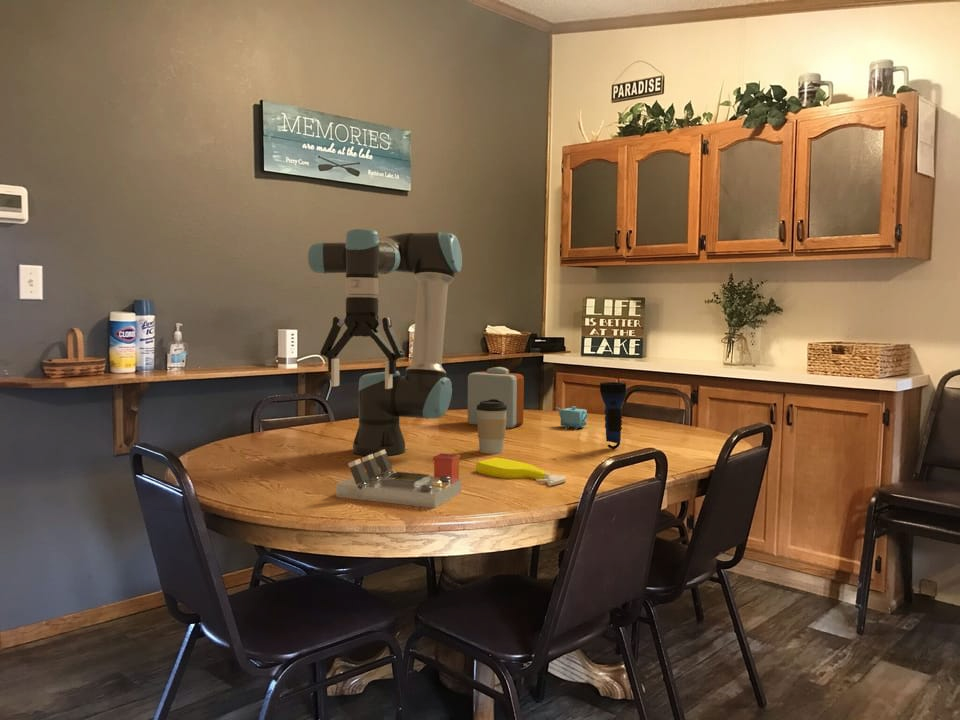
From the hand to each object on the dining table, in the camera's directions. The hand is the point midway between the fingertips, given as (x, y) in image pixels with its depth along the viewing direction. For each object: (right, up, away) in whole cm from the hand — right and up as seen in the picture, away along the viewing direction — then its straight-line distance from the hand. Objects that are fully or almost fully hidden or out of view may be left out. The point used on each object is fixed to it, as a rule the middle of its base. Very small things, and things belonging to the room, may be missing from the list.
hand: (361, 387), depth 183 cm
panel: (+10, -24, -6) cm, 27 cm away
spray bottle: (+38, -24, +13) cm, 47 cm away
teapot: (+60, -18, +90) cm, 109 cm away
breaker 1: (+2, -21, -10) cm, 24 cm away
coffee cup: (+31, -21, +45) cm, 59 cm away
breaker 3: (+6, -21, +1) cm, 21 cm away
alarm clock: (+33, -17, +94) cm, 101 cm away
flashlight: (+67, -21, +51) cm, 87 cm away
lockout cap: (+20, -24, +4) cm, 31 cm away
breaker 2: (+4, -21, -4) cm, 22 cm away
